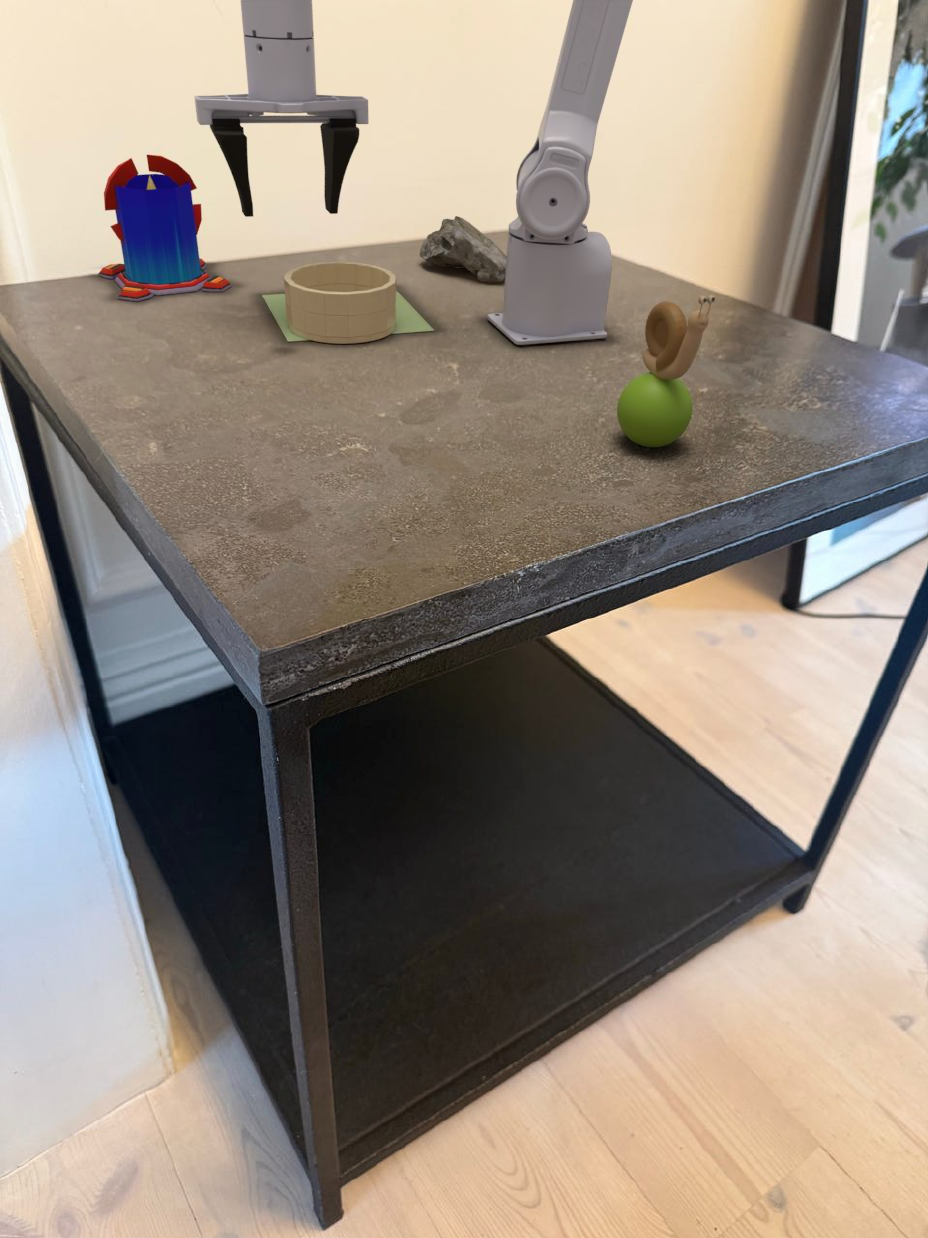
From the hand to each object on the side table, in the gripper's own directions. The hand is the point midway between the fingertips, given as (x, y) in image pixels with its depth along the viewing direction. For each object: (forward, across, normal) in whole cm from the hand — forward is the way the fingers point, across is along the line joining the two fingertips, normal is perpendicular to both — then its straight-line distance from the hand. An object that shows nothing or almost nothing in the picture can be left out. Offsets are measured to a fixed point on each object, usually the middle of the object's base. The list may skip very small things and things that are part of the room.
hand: (290, 212), depth 83 cm
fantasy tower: (+10, -11, +14) cm, 20 cm away
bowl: (+9, +4, -4) cm, 11 cm away
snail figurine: (+10, +20, -35) cm, 41 cm away
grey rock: (+10, +22, +12) cm, 27 cm away
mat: (+9, +5, 0) cm, 11 cm away
